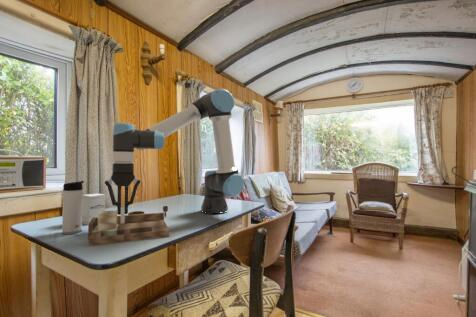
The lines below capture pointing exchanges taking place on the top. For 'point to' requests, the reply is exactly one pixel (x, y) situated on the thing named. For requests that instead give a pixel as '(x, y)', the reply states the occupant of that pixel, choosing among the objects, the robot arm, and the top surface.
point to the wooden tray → (129, 229)
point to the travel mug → (72, 208)
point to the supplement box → (92, 206)
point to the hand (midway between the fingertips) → (122, 222)
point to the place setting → (165, 209)
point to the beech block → (107, 220)
